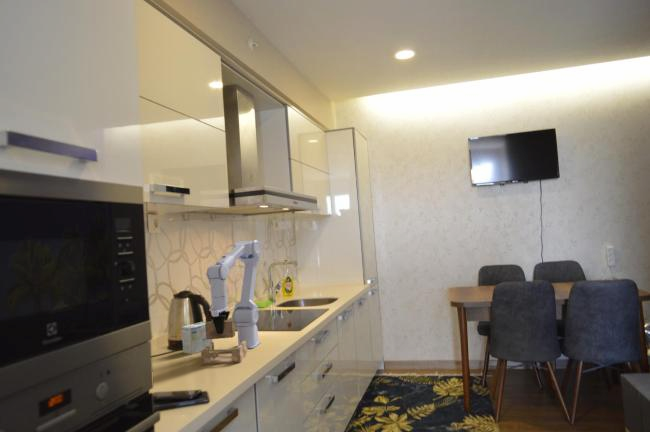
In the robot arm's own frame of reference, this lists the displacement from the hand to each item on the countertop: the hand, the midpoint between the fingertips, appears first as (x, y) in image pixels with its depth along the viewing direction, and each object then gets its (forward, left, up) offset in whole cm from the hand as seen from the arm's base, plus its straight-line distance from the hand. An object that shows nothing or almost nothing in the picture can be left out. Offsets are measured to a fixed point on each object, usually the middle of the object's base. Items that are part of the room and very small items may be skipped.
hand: (221, 332), depth 179 cm
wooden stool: (0, +1, -10) cm, 10 cm away
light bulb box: (-14, -17, -10) cm, 24 cm away
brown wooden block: (0, 0, -2) cm, 2 cm away
